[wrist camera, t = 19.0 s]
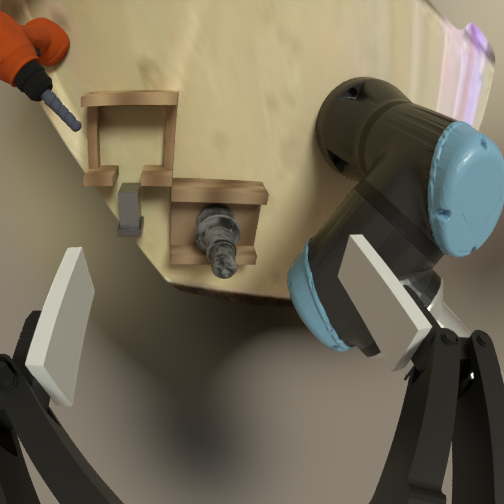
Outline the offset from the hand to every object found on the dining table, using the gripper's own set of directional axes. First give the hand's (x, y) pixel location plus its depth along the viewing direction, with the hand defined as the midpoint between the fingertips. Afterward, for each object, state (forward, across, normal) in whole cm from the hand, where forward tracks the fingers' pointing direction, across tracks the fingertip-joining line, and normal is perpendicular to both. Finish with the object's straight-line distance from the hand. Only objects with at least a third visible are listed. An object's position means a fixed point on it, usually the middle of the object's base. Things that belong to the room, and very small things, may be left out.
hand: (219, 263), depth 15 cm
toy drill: (+27, +16, -10) cm, 34 cm away
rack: (+27, -2, +12) cm, 30 cm away
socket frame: (+27, +8, 0) cm, 28 cm away
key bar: (+27, +9, +10) cm, 30 cm away
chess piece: (+26, -2, +12) cm, 29 cm away
